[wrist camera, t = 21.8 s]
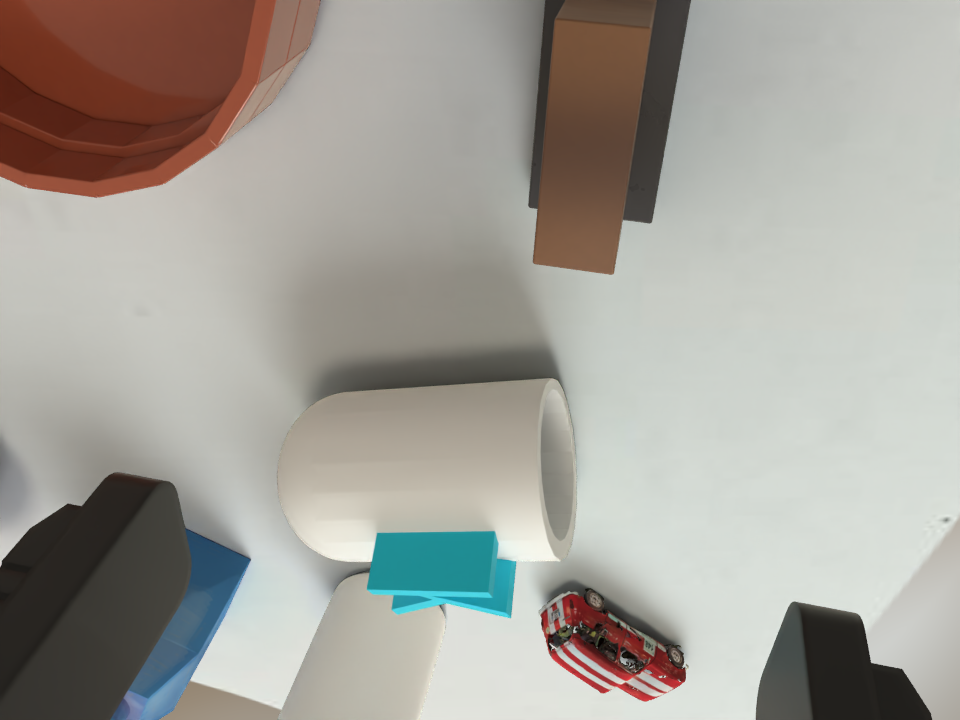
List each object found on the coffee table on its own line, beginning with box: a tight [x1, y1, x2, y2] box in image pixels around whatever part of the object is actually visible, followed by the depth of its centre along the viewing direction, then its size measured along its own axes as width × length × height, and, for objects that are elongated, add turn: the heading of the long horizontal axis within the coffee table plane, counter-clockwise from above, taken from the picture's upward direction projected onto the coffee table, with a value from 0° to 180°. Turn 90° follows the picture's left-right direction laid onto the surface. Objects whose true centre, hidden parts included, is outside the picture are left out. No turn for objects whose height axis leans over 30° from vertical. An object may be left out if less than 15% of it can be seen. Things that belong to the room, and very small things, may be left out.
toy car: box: [539, 589, 688, 702], centre depth 43 cm, size 4×8×3 cm, turn 54°
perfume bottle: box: [110, 529, 250, 720], centre depth 44 cm, size 6×6×12 cm
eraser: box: [528, 0, 691, 275], centre depth 26 cm, size 9×4×7 cm, turn 177°
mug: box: [277, 378, 577, 618], centre depth 38 cm, size 12×9×12 cm
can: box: [278, 572, 446, 720], centre depth 43 cm, size 6×6×12 cm
